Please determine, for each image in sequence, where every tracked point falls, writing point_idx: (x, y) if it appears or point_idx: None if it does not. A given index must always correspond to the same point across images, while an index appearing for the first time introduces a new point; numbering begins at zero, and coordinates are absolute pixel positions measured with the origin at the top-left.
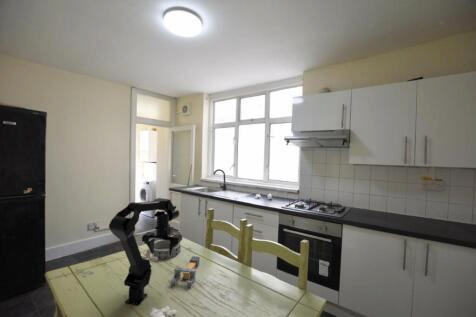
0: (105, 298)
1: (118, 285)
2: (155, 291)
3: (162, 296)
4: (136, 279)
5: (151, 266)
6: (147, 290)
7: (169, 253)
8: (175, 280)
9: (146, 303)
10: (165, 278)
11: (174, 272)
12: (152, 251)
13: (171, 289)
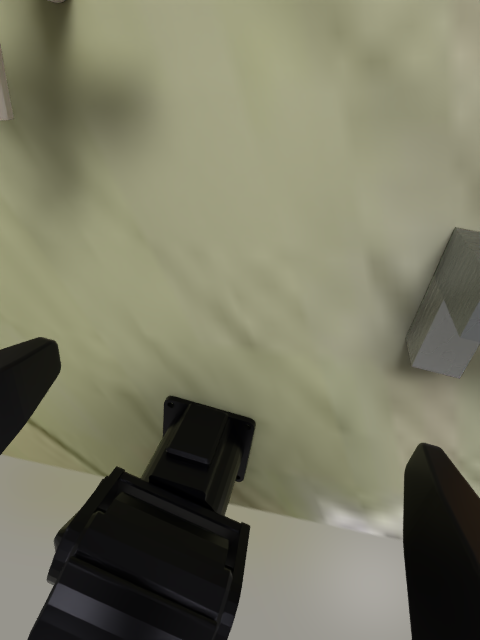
0: (52, 404)
1: (25, 305)
2: (295, 391)
3: (357, 441)
4: (142, 491)
5: (215, 628)
6: (236, 375)
7: (405, 550)
8: (458, 376)
9: (276, 471)
10: (335, 233)
11: (452, 317)
12: (16, 429)
13: (415, 388)
